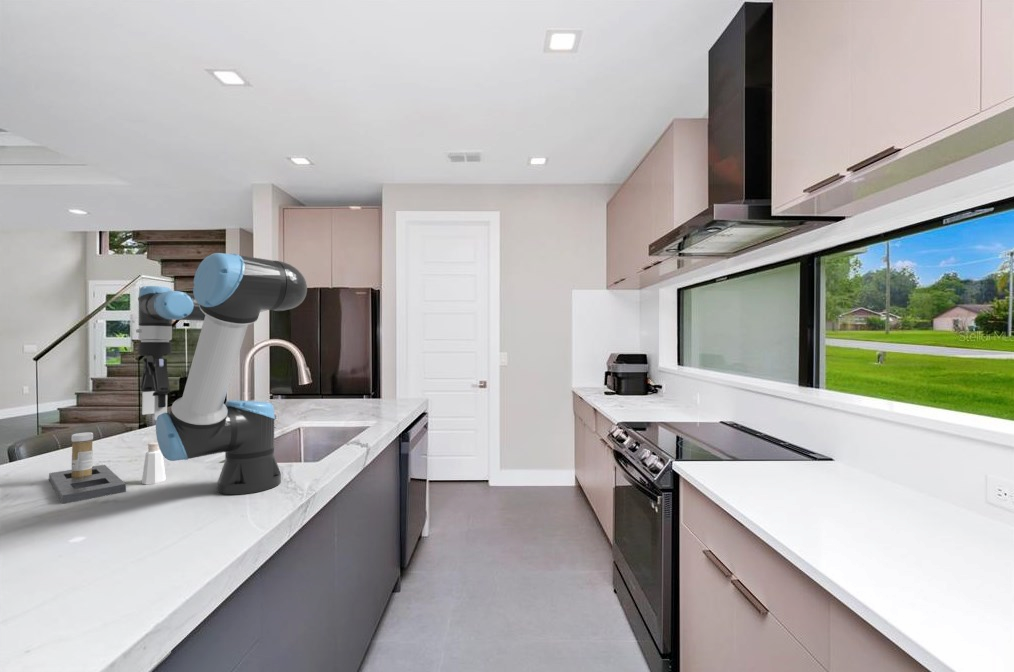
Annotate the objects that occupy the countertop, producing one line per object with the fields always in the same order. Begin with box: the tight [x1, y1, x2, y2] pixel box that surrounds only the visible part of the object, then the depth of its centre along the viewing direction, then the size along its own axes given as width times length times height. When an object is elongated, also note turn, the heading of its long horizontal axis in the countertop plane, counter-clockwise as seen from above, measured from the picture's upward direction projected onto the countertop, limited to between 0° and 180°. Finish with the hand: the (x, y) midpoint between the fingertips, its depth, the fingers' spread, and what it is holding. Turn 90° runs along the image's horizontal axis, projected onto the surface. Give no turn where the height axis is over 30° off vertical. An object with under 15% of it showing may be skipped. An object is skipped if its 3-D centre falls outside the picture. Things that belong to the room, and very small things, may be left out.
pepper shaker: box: [141, 441, 167, 485], centre depth 129 cm, size 5×5×11 cm
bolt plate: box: [48, 464, 127, 505], centre depth 125 cm, size 30×12×2 cm, turn 49°
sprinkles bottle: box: [70, 431, 94, 478], centre depth 130 cm, size 5×5×14 cm
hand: (154, 416), depth 129 cm, fingers open, 13 cm apart
